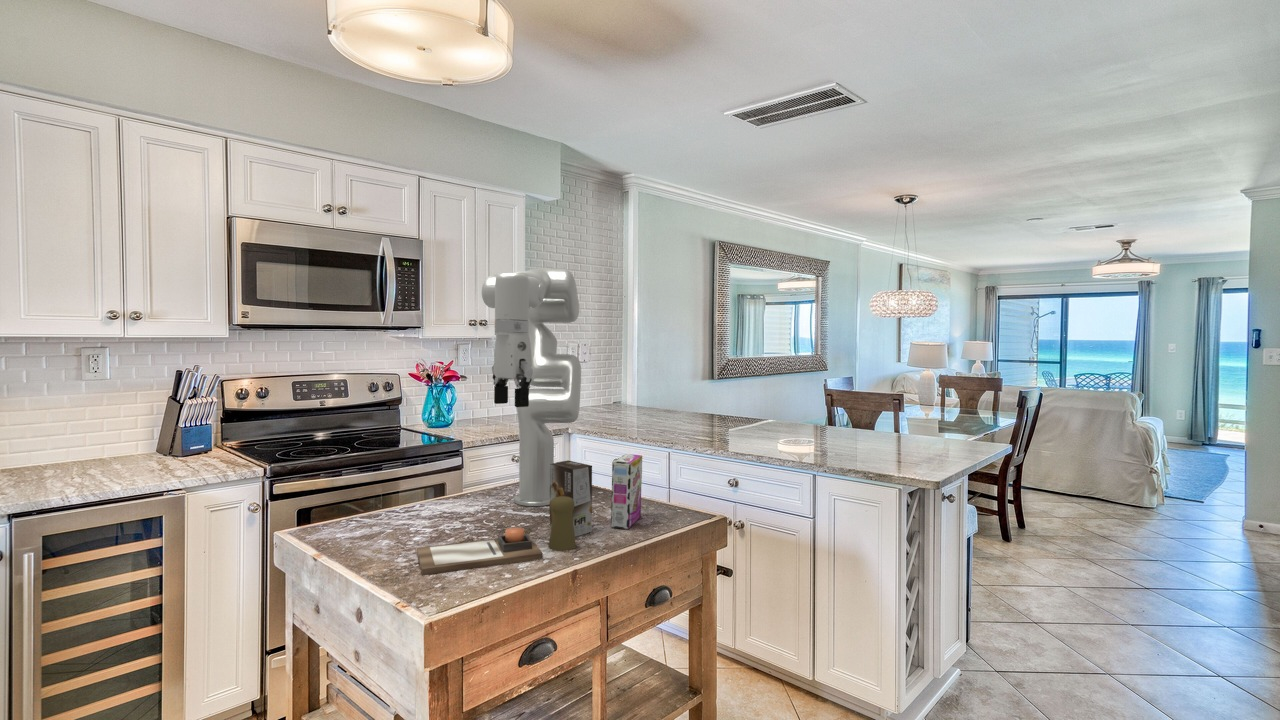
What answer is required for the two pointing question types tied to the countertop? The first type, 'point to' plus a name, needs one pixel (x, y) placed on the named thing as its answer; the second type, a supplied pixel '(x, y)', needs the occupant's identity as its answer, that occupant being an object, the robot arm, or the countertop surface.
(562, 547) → the olive pawn
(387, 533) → the countertop surface
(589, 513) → the coffee box
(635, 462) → the candy bar box
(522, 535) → the button
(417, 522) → the countertop surface
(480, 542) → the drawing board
